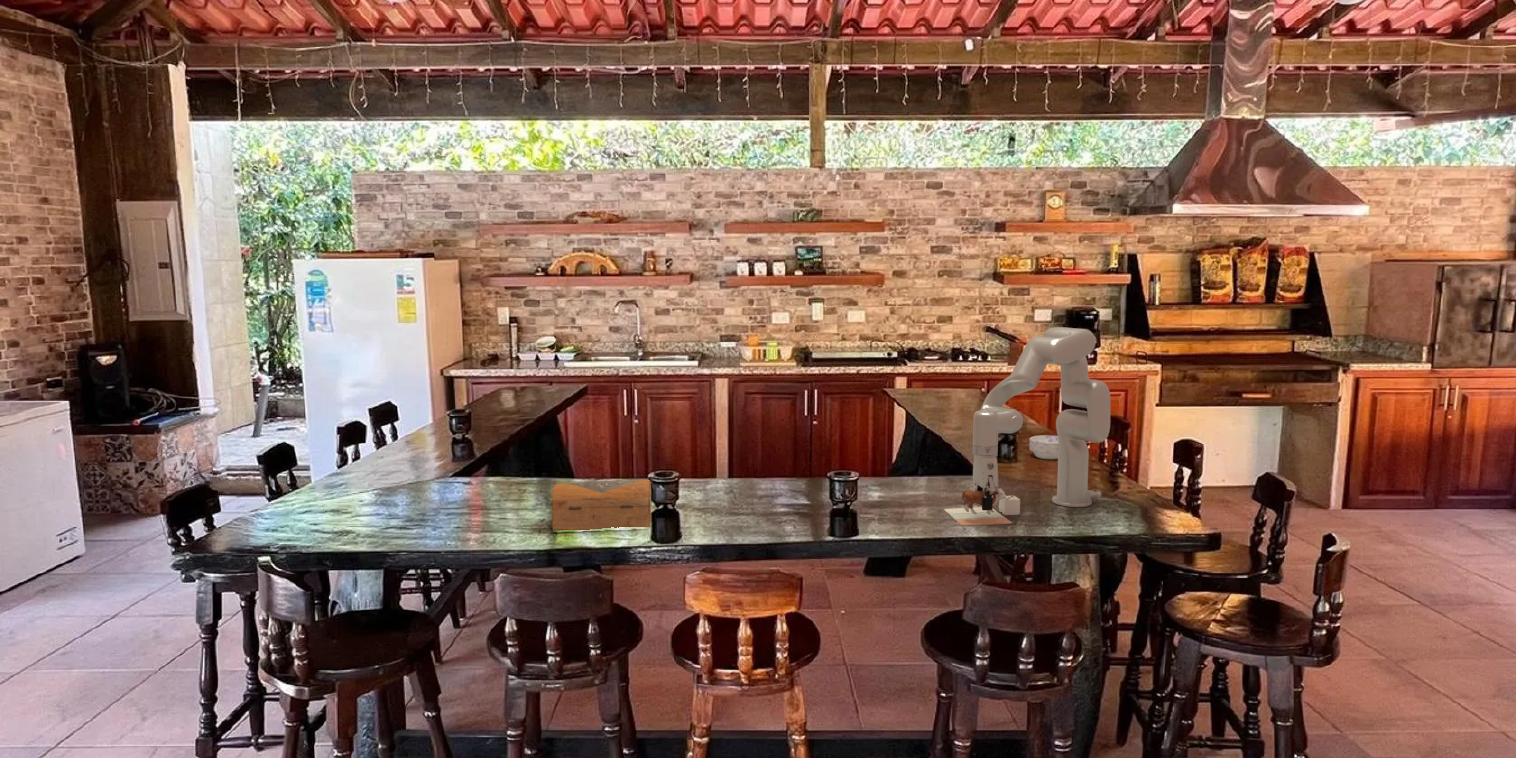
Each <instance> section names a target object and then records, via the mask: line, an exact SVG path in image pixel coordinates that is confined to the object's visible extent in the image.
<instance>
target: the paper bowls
mask: <svg viewBox="0 0 1516 758" xmlns="http://www.w3.org/2000/svg"><path fill="white" fill-rule="evenodd" d="M1028 446H1029V451H1031V452H1033V454H1034V456H1035V457H1036V458H1039V459H1040V460H1041V459H1042V460H1058V448H1059V445H1058V435H1051V434H1050V435H1048V434H1044V435H1034V436H1031V437H1030V438H1029V445H1028Z"/></svg>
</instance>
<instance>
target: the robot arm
mask: <svg viewBox="0 0 1516 758" xmlns="http://www.w3.org/2000/svg"><path fill="white" fill-rule="evenodd" d="M1095 347H1096V337H1095V335H1094V333H1093V332H1092V331H1091V330H1089V329H1086V328H1073V327H1063V326H1058V327H1057V326H1054V327H1050V328H1048V329H1047V330H1045V332H1044V335H1043V336H1034V337H1032V338H1030V339H1029V340H1028V341H1027V342H1026V344H1025V346H1024V348H1023V350H1022V352H1021V354H1020V356H1019V358H1018V360H1017V361H1016V364H1015V365H1014V368H1013V370H1012V372H1011V373H1010V375H1009V376H1007V377H1006V378H1004V379H1003V380H1002V381H1000V382H999V383H998V384H997V385H996V386H995V387H993V388H992V389H991V390H990V391H989V393H988V394H987V395H986V396H985V398H984V401H983V403H982V405H981V406H980V409H979V410H977V411H975V412H974V413H973V418H972V419H973V420H972V455H973V465H972V480H973V483H975V484H974V485H975V488H974V491H983V497H982V505H981V507H982V510H992V508H993V506H994V505H993V493H994V492H995V489H998V487H999V470H998V469H999V468H998V451H999V450H998V448H999V446H998V445H999V444H998V443H999V434H1013V433H1017V432H1018V431H1019V430H1021V428H1022V427H1023V424H1024V417H1023V416H1022V414H1021V413H1020V412H1019V411H1017V410H1016V409H1012V408H1007V407H1003V406H1004V405H1005V404H1006V402H1008V401H1009V400H1010V399H1011V398H1013V397H1015V396H1017V395H1020V394H1023V393H1026V392H1029V391H1032V390H1033V389H1035V388H1036V387H1037V385H1038V383H1039V381H1040V380H1041V377H1042V376H1043V373H1044V371H1045V369H1046V368H1047V366H1048V365H1055V366H1060V397H1061V400H1062V402H1063V403H1064V404H1065V405H1069V406H1072V407H1078V408H1084V409H1086V410H1087V411H1086V410H1080V409H1076V408H1075V409H1074V408H1070V409H1064V410H1062V411H1061V412H1059V413H1058V415H1057V417H1056V420H1055V428H1056V433H1057V436H1058V445H1059V448H1058V459H1057V482H1056V483H1057V484H1056V485H1057V487H1056V495H1053V496H1052V497H1051V501H1052V503H1053V504H1055V505H1058V506H1062V507H1068V508H1085V507H1090V506H1091V505H1092V504H1093V501H1092V498H1101V497H1102V492H1101V490H1098V491H1096V490H1095V491H1094V490H1090V489H1088V482H1089V481H1088V479H1089V455H1090V453H1089V447H1088V445H1087V442H1090V443H1096V444H1097V443H1103V442H1105V440H1106V439H1107V438H1108V436H1109V433H1110V429H1111V392H1110V389H1109V387H1108V385H1107V384H1106V383H1105V382H1104V381H1102V380H1098V379H1092V378H1090V377H1089V365H1088V364H1089V363H1088V360H1087V357H1086V356H1088V355H1090V354H1091V353H1092V352H1093V350H1094V349H1095ZM987 486H988V487H987ZM986 490H989V491H987V492H986ZM974 504H975V503H974ZM975 505H976V504H975ZM976 506H977V505H976Z"/></svg>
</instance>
